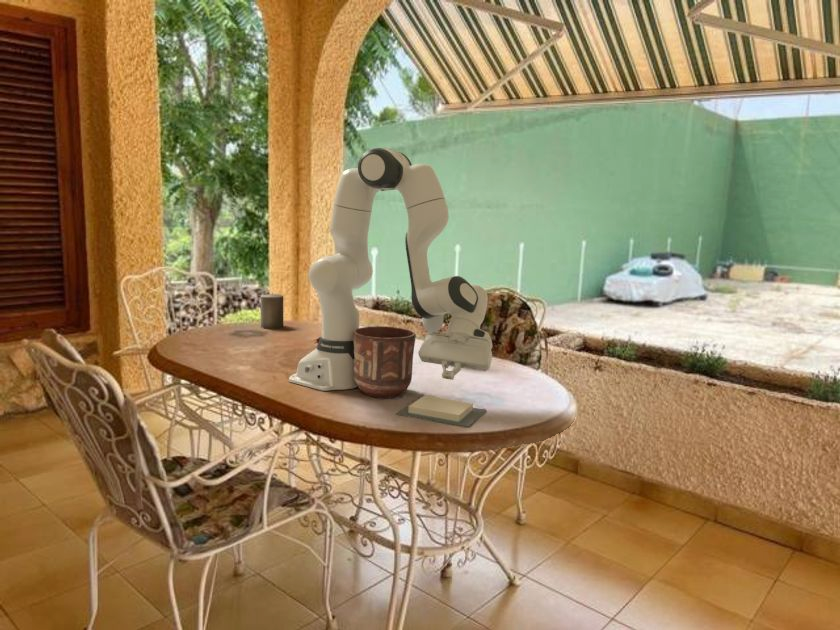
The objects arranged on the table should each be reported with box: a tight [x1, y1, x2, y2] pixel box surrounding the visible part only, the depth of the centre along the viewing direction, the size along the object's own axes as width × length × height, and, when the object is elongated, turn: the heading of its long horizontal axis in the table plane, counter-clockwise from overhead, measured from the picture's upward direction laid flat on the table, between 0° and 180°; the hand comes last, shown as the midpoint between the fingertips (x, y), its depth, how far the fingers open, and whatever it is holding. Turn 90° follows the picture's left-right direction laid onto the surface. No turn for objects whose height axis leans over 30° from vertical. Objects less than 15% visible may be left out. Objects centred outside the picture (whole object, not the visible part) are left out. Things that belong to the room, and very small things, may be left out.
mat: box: [395, 397, 487, 429], centre depth 166 cm, size 20×15×1 cm
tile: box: [408, 394, 474, 423], centre depth 165 cm, size 14×2×11 cm
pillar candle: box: [260, 292, 285, 330], centre depth 268 cm, size 10×10×15 cm
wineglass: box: [421, 314, 445, 334], centre depth 222 cm, size 8×8×21 cm
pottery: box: [353, 325, 417, 399], centre depth 180 cm, size 18×18×18 cm
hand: (447, 378), depth 167 cm, fingers closed
